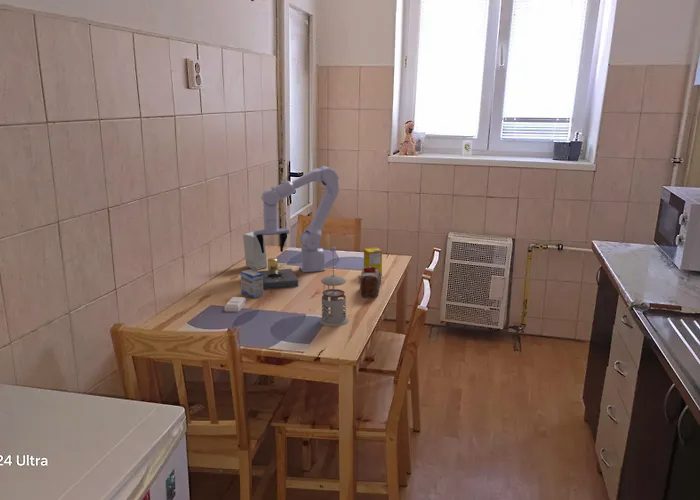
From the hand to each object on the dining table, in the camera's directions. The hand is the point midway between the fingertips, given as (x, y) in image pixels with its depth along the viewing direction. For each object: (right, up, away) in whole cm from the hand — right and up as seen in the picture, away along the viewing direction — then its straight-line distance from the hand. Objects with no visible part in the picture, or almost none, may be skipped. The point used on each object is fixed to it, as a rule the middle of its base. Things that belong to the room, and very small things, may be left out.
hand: (272, 251), depth 233 cm
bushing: (0, -9, +2) cm, 9 cm away
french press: (+26, -22, -48) cm, 59 cm away
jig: (+2, -12, -9) cm, 15 cm away
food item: (+40, -15, -21) cm, 48 cm away
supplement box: (+41, -10, -1) cm, 42 cm away
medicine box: (-4, -16, -24) cm, 29 cm away
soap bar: (-8, -20, -36) cm, 41 cm away
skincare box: (-9, -7, +11) cm, 16 cm away
